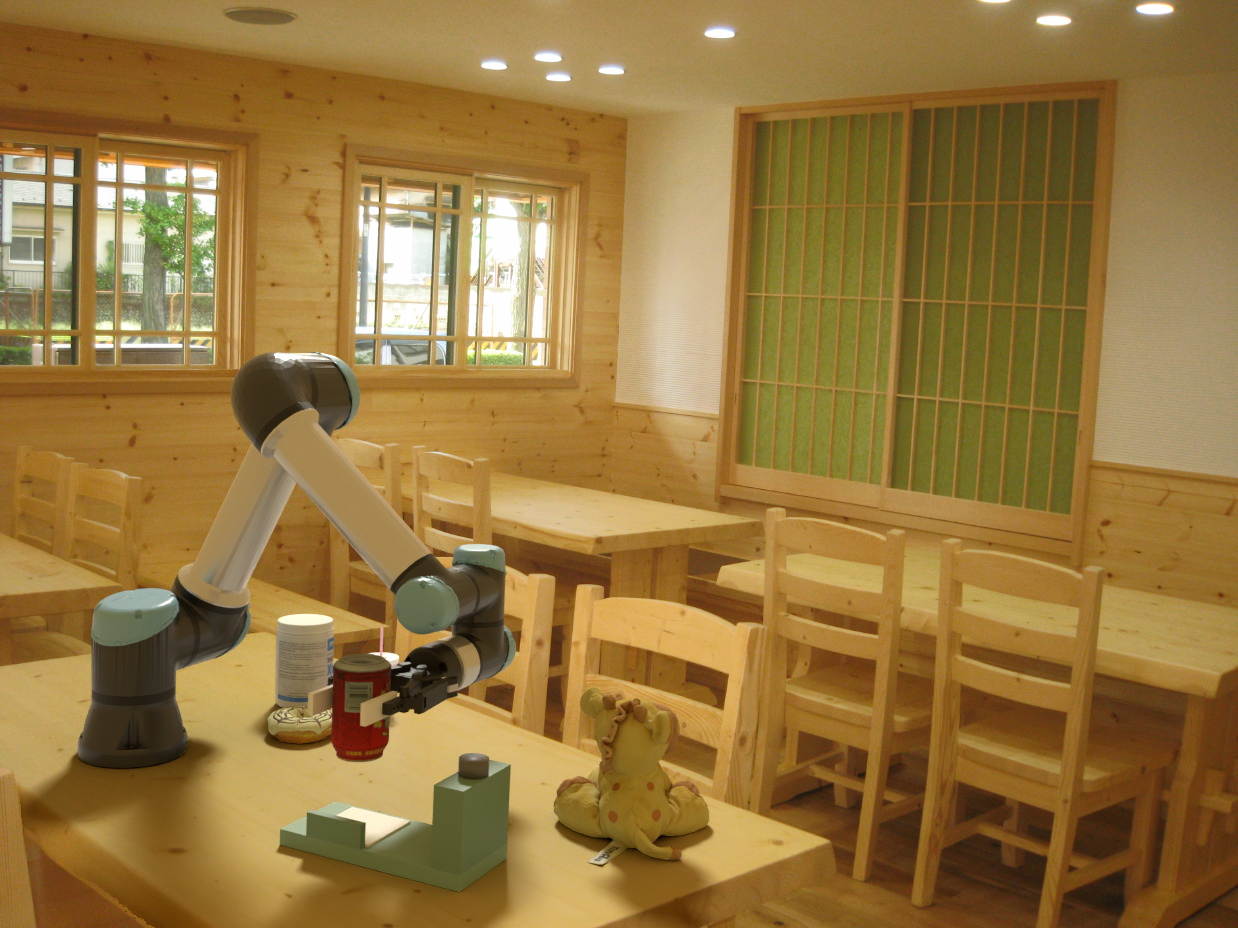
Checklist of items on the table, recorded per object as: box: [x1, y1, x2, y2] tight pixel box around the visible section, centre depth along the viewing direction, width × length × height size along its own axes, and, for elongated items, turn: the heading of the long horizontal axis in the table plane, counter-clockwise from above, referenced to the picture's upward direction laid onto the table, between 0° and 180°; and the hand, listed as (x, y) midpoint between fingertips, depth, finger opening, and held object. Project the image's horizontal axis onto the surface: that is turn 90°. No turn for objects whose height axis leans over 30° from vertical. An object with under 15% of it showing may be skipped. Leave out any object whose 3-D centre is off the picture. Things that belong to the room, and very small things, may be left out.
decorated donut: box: [266, 706, 332, 745], centre depth 198 cm, size 10×11×4 cm
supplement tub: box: [274, 613, 335, 708], centre depth 213 cm, size 10×10×15 cm
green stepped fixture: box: [279, 752, 512, 893], centre depth 155 cm, size 26×11×14 cm, turn 65°
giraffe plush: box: [553, 685, 710, 866], centre depth 165 cm, size 20×24×19 cm
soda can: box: [330, 653, 391, 763], centre depth 156 cm, size 7×7×12 cm
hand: (336, 709), depth 151 cm, fingers closed on soda can, 7 cm apart
